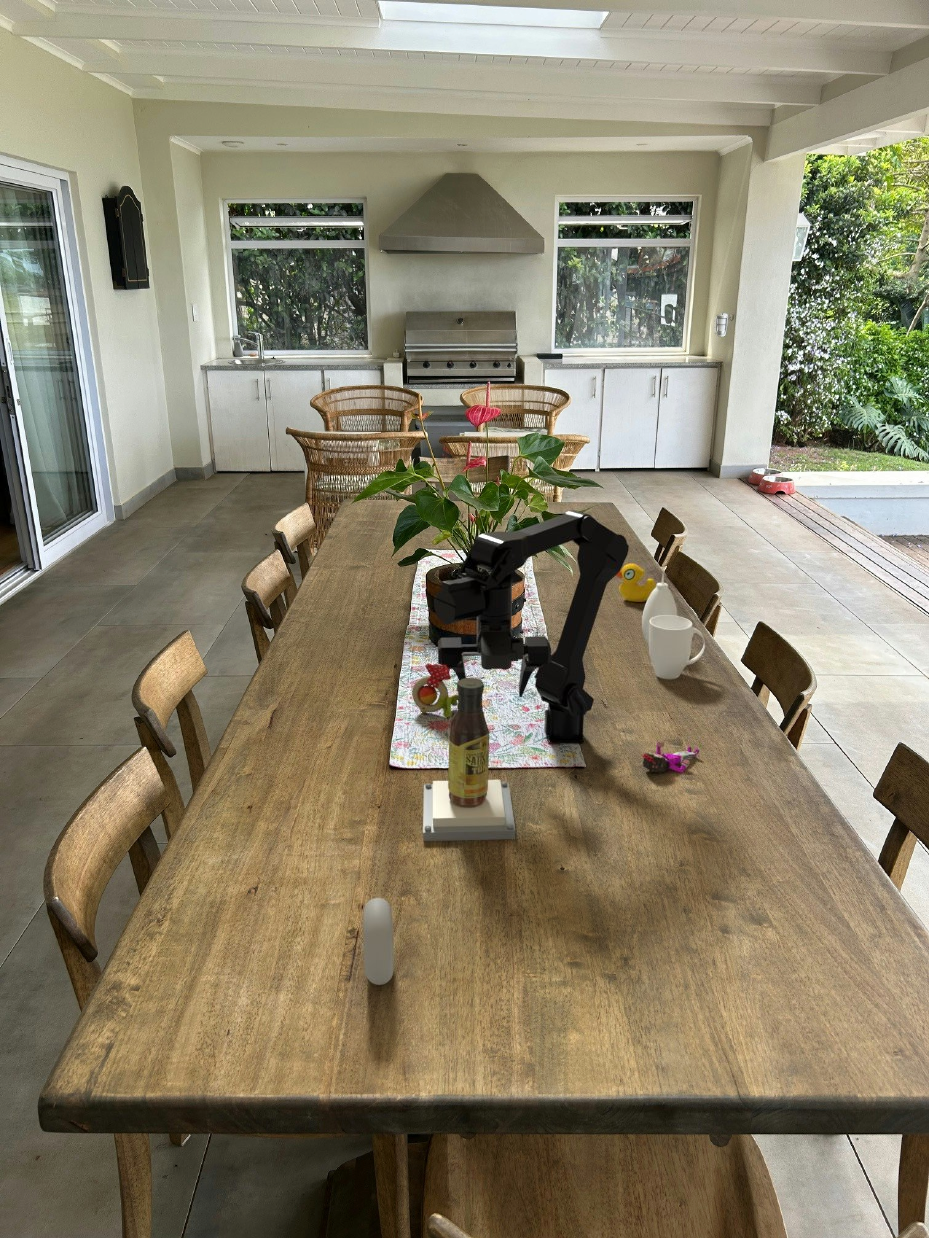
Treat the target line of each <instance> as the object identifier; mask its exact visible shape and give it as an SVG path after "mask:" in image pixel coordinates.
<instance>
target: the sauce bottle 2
mask: <svg viewBox="0 0 929 1238" xmlns="http://www.w3.org/2000/svg"><path fill="white" fill-rule="evenodd" d="M664 581H665V573H664V572H662V575H661V582H657V583H656V588H655V589H654V590H653V591H652V593H651V594H650V596H649V598H648V600H647V601H645V602H646V603H645V605H644V608H643V611H642V612H643V613H642V617H641V628H642V634H643V637H644V638H645V639H644V640H645V642H647V644H649V621H650V619H651V618H653V617H655V616H661V615H673V616H678V609H677V604H676V601H675V598H674V595H673V593H672V592H671V590H670V589H669V584H668V583H666V582H664Z"/></svg>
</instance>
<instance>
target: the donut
mask: <svg viewBox="0 0 929 1238" xmlns="http://www.w3.org/2000/svg"><path fill="white" fill-rule="evenodd" d="M392 915H393V913H392V907H391V905H390V904H389V902H388V901H387V900H386V899H384V898H382V897H381V898H380V897H374V898H372V899H371V900H368V901H367V903H366V904H365V906H364V910H363V917H362V947H363V948H362V949H363V962H364V963H363V964H364V972H365V976H366V978H367V980H368V981H369V982H370V983H371V984H374V985H378V986H381V985H385V984H387V983H388V982H389V981H390V980H391V979H392V977H393V975H394V967H395V965H394V964H395V961H394V960H395V955H394V952H395V951H394V931H393V928H394V927H393V925H394V924H393V916H392Z"/></svg>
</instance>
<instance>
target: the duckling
mask: <svg viewBox="0 0 929 1238" xmlns="http://www.w3.org/2000/svg"><path fill="white" fill-rule="evenodd" d="M645 574H646V571H645V570H644V569H643V568H642V567H640V566H639V565H637V564H636V563H627V564H625V565H623V566H622V568H621V570H620V572H619V573H618V574H617V575H615V576H614V577H617V578H619V579H623V582H621V584H620V585H619V588H618V589H619V593H620V595H621V596H622V598H624V599H625V600H626V601H628V602H632V603H633V602H634V603H643V602H647V600H648V598H649V596H650V594H651V593H652V591H653V590H654V589H655V588H656V585H657V583H656V581H655V580H654V579H653V578H648V579H647V580H646V581H645V582H644V583H645V584H644V585H639V584H638V582H640V581H641V579H643V577H644V576H645Z"/></svg>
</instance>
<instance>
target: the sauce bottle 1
mask: <svg viewBox="0 0 929 1238" xmlns="http://www.w3.org/2000/svg"><path fill="white" fill-rule="evenodd" d="M484 689H485V684H484V682H483V680H481V679H478V678H475V677H466V678H464V679H461V680H459V679H458V680H457V683H456V691H457V695H458V700H457V706H456V707H457V711H455V713H454V715H453V716H452V718H451V720H450V723H449V736H448V777H447V778H448V780H447V781H448V789H449V798H450V800H451V801H452V802H453V803H455V804H457V805H459V806H467V807H469V806H476V805H479V804H481V803H482V802H483V801H484V800H485V799H486V796H487V791H488V780H489V766H490V765H489V762H490V730H489V727H488V724H487V721H486V717H485V713H484V710H483V708H484V707H483V693H484V691H485V690H484Z"/></svg>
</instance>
